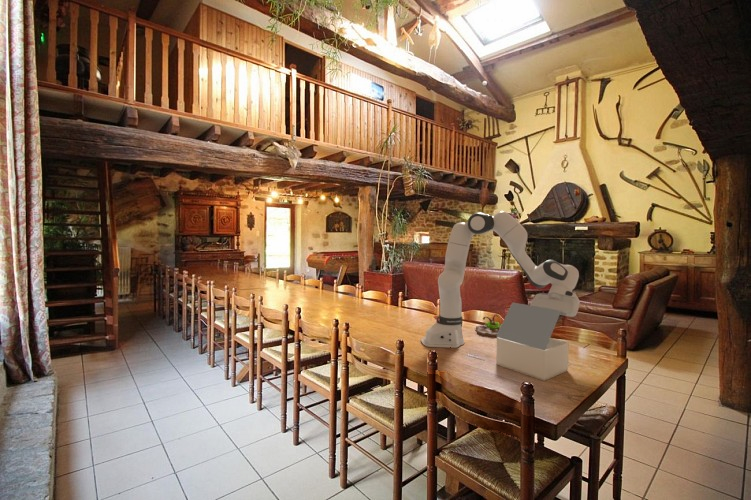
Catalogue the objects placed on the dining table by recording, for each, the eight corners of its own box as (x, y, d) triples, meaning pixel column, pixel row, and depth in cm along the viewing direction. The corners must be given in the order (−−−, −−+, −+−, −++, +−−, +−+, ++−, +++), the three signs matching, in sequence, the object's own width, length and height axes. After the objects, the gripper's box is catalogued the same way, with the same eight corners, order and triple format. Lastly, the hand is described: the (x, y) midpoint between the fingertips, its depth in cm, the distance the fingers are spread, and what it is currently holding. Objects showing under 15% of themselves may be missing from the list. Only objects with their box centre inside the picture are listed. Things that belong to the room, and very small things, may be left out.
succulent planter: (514, 339, 196) (514, 319, 195) (477, 337, 200) (477, 317, 200) (508, 329, 215) (508, 311, 215) (475, 327, 220) (475, 309, 219)
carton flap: (512, 302, 163) (512, 302, 163) (561, 311, 145) (560, 310, 145) (496, 336, 157) (496, 336, 157) (544, 350, 139) (544, 349, 139)
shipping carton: (520, 355, 168) (521, 330, 168) (568, 370, 150) (568, 342, 150) (496, 364, 158) (496, 337, 157) (544, 381, 140) (544, 351, 139)
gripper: (535, 288, 172) (522, 310, 167) (579, 294, 155) (567, 319, 150) (540, 296, 175) (528, 318, 170) (583, 303, 158) (572, 328, 153)
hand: (546, 319), depth 160 cm, fingers closed
